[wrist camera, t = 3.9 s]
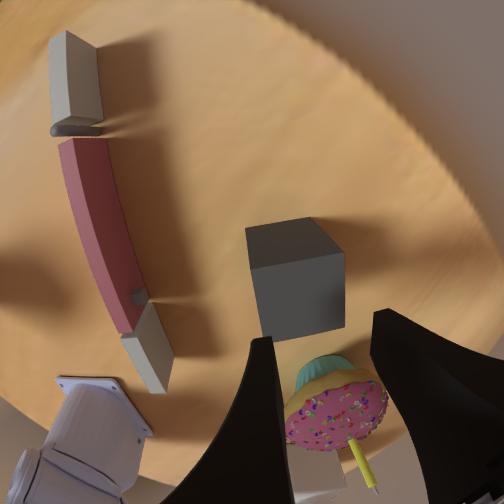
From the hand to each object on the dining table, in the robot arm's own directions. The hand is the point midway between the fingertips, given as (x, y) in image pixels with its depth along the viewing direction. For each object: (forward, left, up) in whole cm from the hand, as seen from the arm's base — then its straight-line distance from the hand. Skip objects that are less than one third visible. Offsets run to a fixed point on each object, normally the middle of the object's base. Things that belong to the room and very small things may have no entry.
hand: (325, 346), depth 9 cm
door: (+4, +10, -9) cm, 14 cm away
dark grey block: (0, 0, -9) cm, 9 cm away
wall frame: (+4, +10, -9) cm, 14 cm away
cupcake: (-12, -2, -9) cm, 15 cm away
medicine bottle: (-28, +1, -9) cm, 30 cm away
